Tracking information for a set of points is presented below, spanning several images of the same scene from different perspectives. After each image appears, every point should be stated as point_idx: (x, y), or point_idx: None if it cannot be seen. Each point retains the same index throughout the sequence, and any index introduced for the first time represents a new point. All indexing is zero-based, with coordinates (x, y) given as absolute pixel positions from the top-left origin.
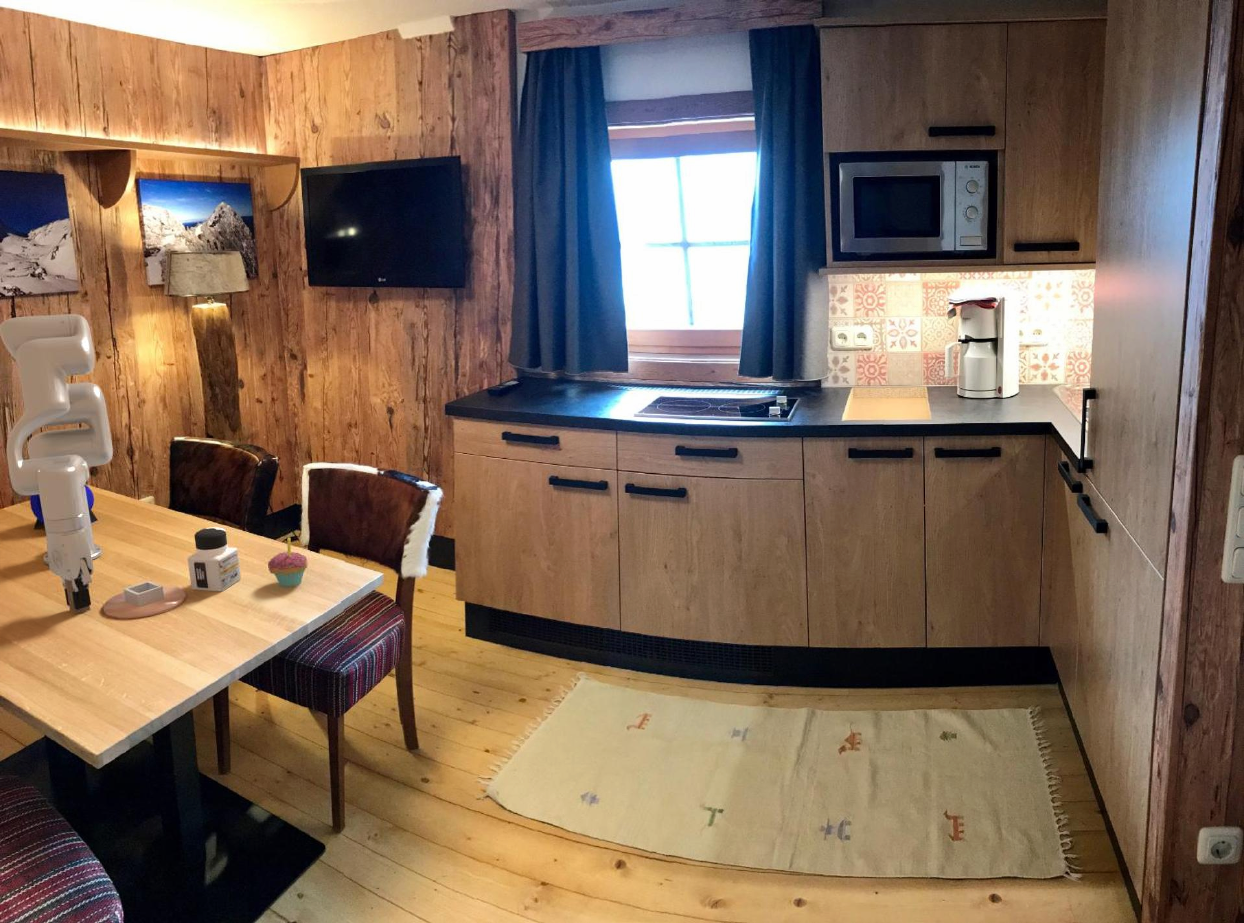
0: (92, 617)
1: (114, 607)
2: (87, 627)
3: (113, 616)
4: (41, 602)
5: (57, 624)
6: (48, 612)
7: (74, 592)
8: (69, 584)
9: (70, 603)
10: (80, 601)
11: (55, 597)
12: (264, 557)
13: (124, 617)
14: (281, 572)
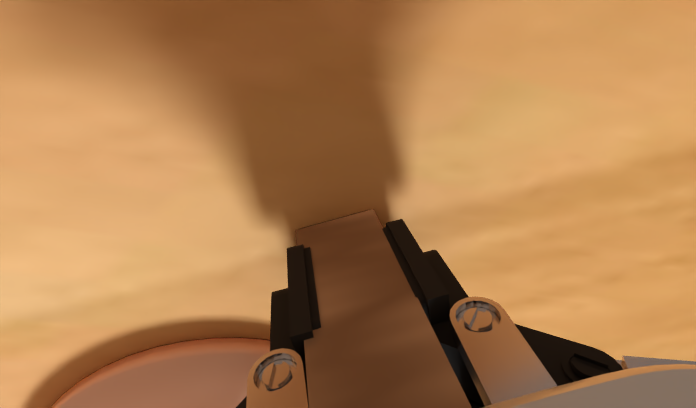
0: (183, 285)
1: (204, 391)
2: (10, 242)
3: (109, 367)
4: (646, 106)
5: (187, 103)
6: (456, 104)
7: (294, 341)
8: (364, 376)
9: (365, 243)
10: (273, 308)
11: (642, 183)
12: None
13: (54, 404)
14: None
